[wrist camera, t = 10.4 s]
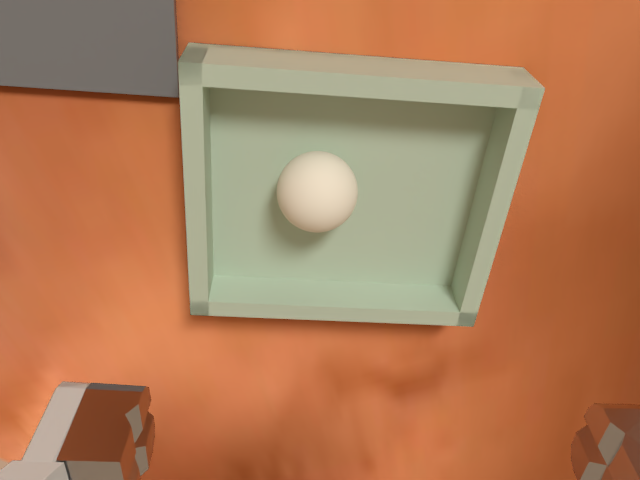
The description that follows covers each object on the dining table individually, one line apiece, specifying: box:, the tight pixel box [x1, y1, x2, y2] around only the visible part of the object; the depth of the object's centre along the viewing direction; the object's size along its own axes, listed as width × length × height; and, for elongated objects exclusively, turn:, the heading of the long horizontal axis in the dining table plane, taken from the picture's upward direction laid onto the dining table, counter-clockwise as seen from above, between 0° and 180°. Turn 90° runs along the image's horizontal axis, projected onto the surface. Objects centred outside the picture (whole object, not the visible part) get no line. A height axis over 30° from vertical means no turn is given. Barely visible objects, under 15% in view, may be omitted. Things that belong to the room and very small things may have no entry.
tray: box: [178, 43, 545, 327], centre depth 30 cm, size 16×14×3 cm
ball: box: [277, 151, 358, 233], centre depth 29 cm, size 4×4×4 cm
